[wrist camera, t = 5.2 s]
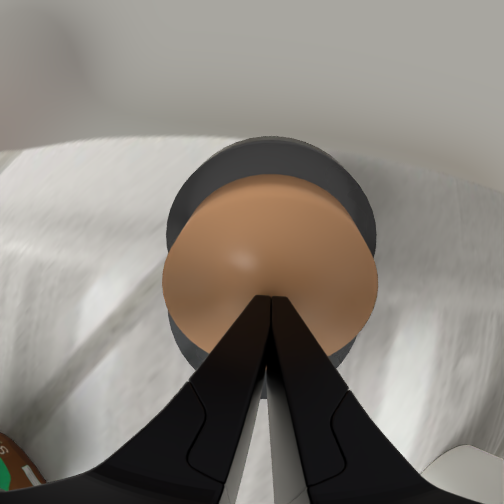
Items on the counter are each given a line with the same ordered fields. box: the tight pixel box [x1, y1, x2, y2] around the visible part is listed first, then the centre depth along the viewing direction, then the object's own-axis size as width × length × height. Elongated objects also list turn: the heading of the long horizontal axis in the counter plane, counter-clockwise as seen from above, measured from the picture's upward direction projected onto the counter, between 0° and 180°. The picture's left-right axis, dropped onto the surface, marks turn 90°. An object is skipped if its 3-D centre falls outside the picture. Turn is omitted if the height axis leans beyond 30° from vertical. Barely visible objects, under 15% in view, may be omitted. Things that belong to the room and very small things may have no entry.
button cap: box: [162, 174, 378, 356], centre depth 9 cm, size 6×6×6 cm
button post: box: [166, 136, 376, 399], centre depth 11 cm, size 10×10×8 cm
